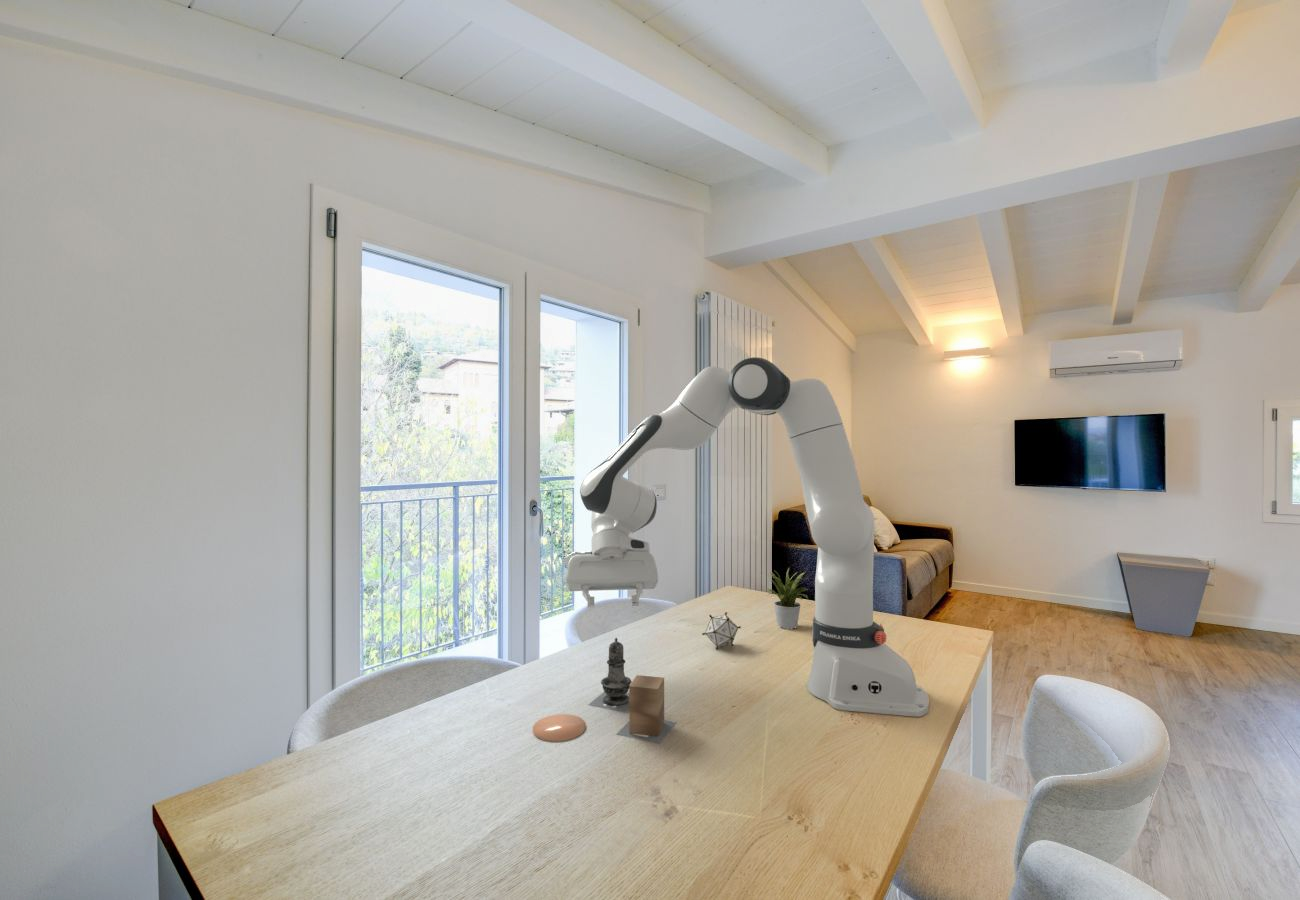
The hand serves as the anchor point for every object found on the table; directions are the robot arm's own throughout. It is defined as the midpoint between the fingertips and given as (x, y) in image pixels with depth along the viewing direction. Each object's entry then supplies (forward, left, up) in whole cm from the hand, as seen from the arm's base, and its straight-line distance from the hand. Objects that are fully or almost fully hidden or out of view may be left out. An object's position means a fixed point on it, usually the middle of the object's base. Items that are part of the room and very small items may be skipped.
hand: (613, 605), depth 122 cm
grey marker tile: (-6, +10, -15) cm, 19 cm away
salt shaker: (-6, +10, -15) cm, 19 cm away
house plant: (-27, -50, -16) cm, 59 cm away
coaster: (-2, +24, -15) cm, 28 cm away
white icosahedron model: (-16, -28, -16) cm, 36 cm away
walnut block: (-16, +18, -15) cm, 28 cm away
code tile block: (-16, +18, -15) cm, 28 cm away
